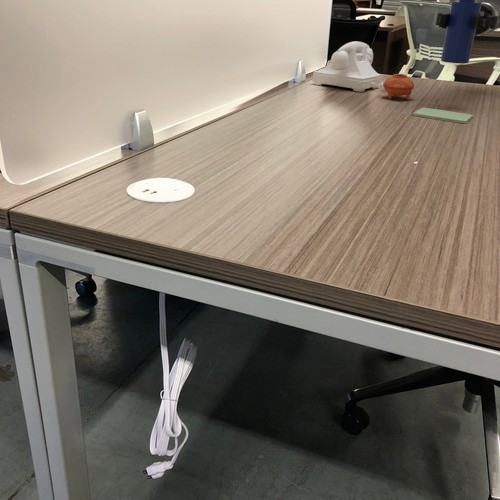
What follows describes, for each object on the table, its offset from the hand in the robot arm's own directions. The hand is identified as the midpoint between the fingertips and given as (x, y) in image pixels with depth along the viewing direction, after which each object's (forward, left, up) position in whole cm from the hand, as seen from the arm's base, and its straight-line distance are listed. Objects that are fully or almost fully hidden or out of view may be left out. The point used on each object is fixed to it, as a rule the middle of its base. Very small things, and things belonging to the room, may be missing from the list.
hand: (457, 22), depth 115 cm
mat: (-3, +7, -20) cm, 21 cm away
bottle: (0, -5, -9) cm, 10 cm away
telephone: (+29, -17, -20) cm, 39 cm away
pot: (+13, -7, -20) cm, 25 cm away
